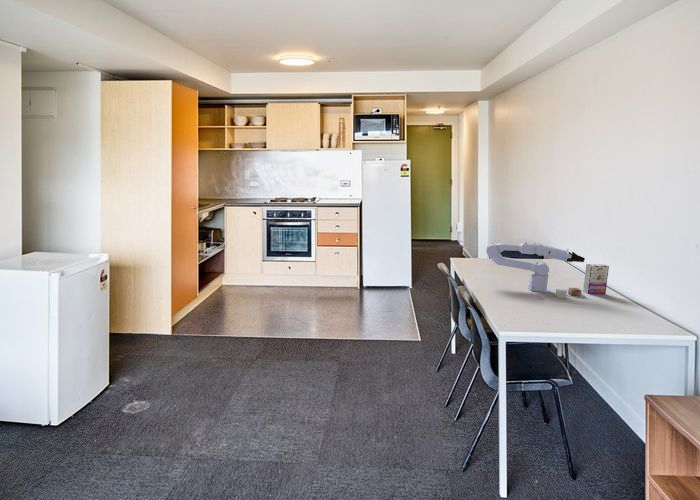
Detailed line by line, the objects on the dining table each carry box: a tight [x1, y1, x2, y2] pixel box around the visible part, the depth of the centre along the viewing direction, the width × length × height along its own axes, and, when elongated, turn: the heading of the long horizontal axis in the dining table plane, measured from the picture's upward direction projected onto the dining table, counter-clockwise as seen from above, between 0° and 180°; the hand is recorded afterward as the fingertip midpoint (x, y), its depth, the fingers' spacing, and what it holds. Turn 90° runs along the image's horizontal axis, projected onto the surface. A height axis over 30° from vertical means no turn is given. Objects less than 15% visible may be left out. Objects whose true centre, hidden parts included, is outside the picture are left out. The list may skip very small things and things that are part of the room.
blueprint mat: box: [560, 288, 588, 299], centre depth 277 cm, size 11×16×1 cm
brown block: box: [568, 287, 583, 298], centre depth 273 cm, size 5×5×4 cm
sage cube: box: [555, 288, 567, 299], centre depth 267 cm, size 4×4×4 cm
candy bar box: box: [582, 263, 610, 295], centre depth 280 cm, size 11×5×16 cm, turn 101°
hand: (582, 260), depth 274 cm, fingers open, 7 cm apart
